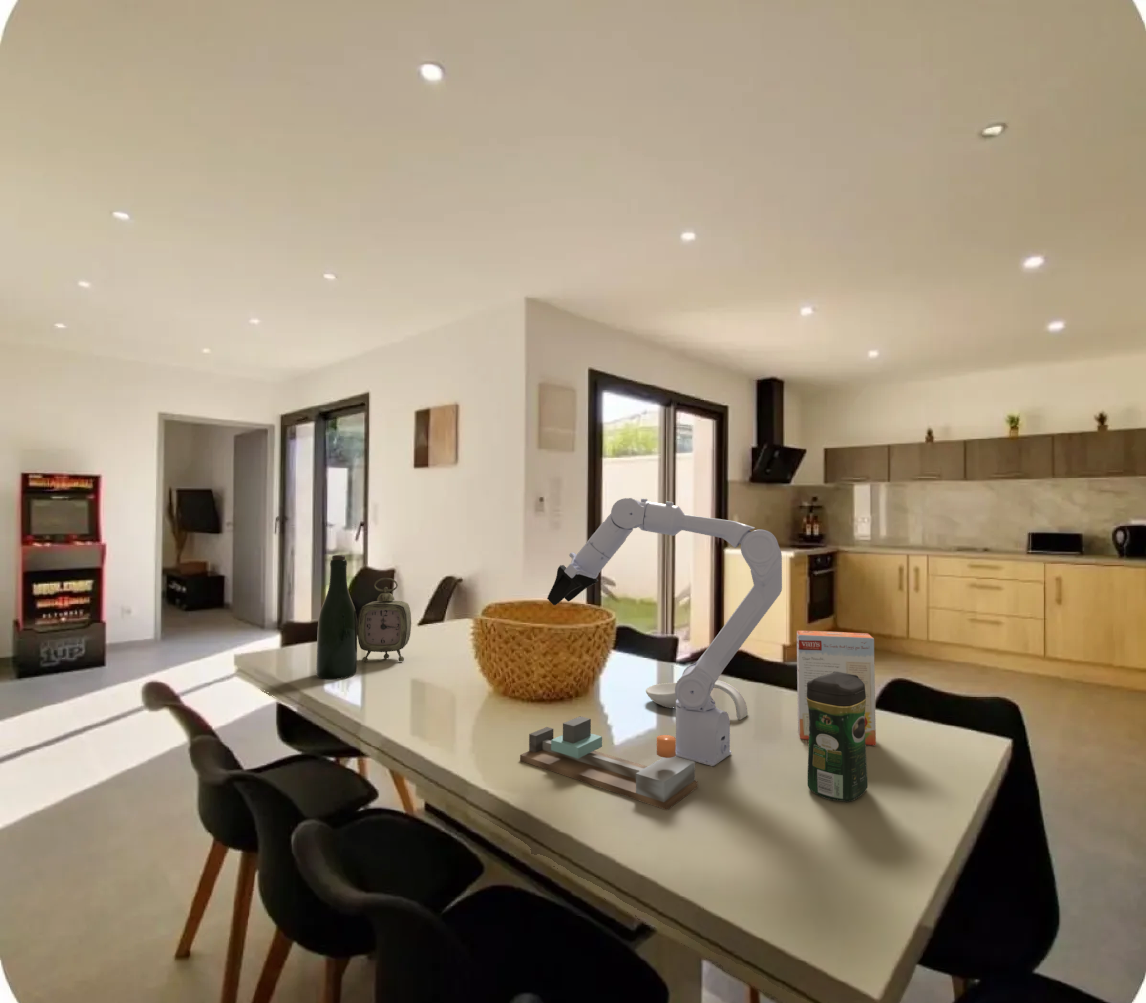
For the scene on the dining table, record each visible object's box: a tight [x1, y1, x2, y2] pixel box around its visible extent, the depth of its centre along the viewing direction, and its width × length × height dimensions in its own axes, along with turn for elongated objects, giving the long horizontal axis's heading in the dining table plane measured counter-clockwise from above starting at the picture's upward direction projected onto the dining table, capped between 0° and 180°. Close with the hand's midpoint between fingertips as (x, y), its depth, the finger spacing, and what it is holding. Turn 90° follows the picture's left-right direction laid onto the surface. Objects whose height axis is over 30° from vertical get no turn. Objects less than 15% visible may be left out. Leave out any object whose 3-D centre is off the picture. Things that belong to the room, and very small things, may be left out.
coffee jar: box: [807, 671, 869, 803], centre depth 100 cm, size 10×8×19 cm
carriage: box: [551, 716, 603, 758], centre depth 109 cm, size 6×7×5 cm
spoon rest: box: [645, 679, 749, 721], centre depth 142 cm, size 24×12×7 cm, turn 56°
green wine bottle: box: [315, 554, 358, 680], centre depth 170 cm, size 10×10×33 cm
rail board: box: [519, 726, 699, 811], centre depth 106 cm, size 30×10×4 cm, turn 52°
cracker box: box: [796, 630, 877, 746], centre depth 124 cm, size 14×6×21 cm, turn 74°
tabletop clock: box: [357, 577, 412, 663], centre depth 188 cm, size 14×9×25 cm, turn 95°
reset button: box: [656, 734, 677, 758], centre depth 98 cm, size 3×3×2 cm
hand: (558, 600), depth 124 cm, fingers open, 7 cm apart
